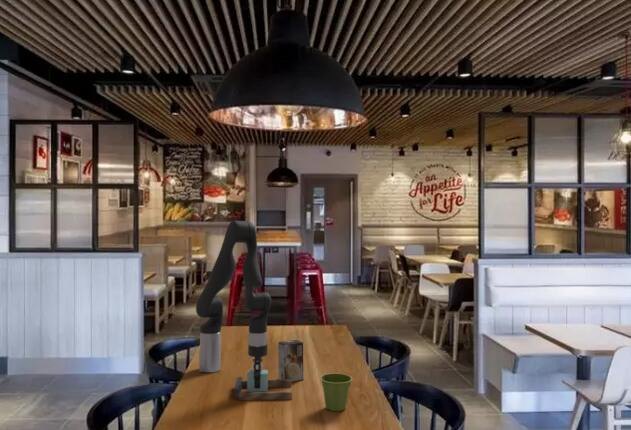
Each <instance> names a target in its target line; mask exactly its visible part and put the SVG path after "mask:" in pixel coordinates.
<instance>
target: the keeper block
mask: <svg viewBox="0 0 631 430" xmlns="http://www.w3.org/2000/svg"><path fill="white" fill-rule="evenodd" d="M256 375H259V374H258V373H256ZM246 376H247V377H246V380H247V387H246V392H269V391H268V390H269V387H268V380H269V370H268V369H262V372H261V375H260V376H261V378H260V388H255V387H254V384H255V379H254V372H253V369H248V370H247V374H246Z"/></svg>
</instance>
